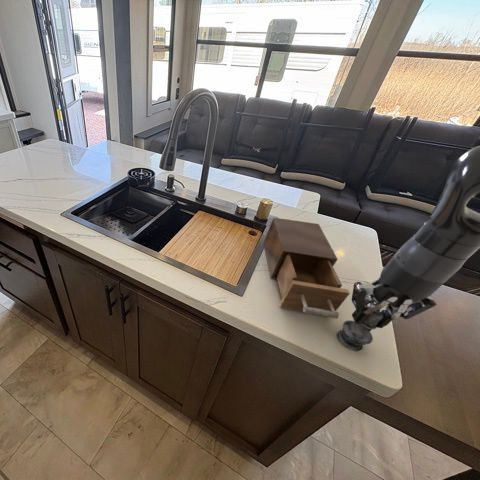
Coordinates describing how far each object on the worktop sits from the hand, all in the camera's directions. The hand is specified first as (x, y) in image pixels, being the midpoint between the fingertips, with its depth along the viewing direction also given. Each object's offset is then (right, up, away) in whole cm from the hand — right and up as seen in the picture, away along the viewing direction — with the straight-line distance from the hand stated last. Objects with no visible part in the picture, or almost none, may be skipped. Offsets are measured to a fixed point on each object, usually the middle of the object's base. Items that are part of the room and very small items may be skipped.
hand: (366, 322), depth 55 cm
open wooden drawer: (-7, +3, +13) cm, 15 cm away
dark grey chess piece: (0, -6, +5) cm, 7 cm away
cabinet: (-4, +11, +25) cm, 27 cm away
